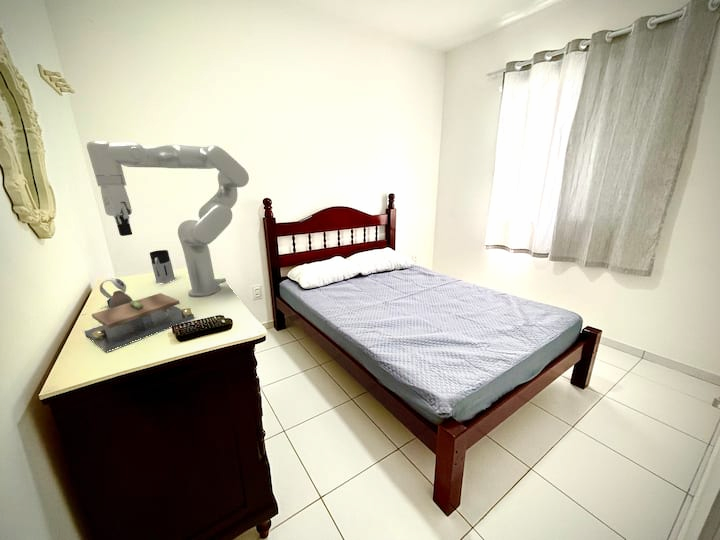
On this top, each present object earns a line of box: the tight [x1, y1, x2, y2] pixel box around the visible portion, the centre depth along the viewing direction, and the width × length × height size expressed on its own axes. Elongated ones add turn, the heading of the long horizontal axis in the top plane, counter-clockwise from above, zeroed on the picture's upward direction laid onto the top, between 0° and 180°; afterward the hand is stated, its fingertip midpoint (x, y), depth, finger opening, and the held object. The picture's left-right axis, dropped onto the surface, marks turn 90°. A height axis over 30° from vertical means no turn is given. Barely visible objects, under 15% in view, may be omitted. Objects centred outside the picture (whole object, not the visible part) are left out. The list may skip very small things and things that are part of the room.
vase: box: [108, 289, 134, 309], centre depth 107 cm, size 7×7×9 cm
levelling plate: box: [91, 292, 181, 328], centre depth 95 cm, size 20×14×3 cm
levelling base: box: [83, 305, 195, 352], centre depth 97 cm, size 25×19×6 cm
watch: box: [99, 277, 127, 309], centre depth 115 cm, size 6×8×11 cm
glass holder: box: [149, 249, 177, 284], centre depth 139 cm, size 9×14×15 cm, turn 24°
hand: (126, 235), depth 102 cm, fingers closed
